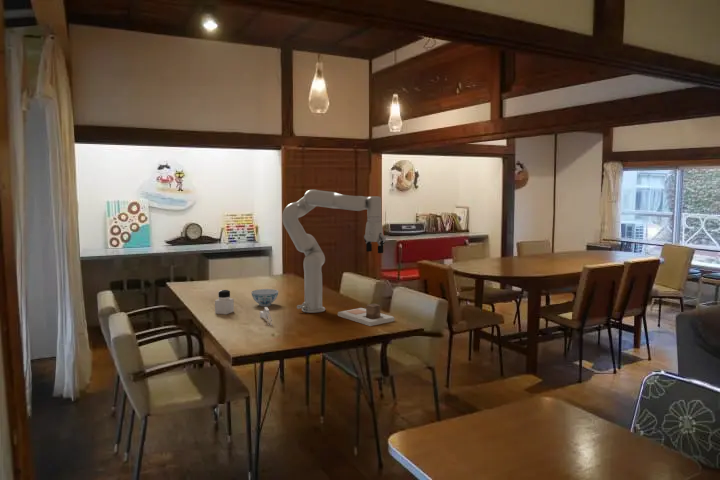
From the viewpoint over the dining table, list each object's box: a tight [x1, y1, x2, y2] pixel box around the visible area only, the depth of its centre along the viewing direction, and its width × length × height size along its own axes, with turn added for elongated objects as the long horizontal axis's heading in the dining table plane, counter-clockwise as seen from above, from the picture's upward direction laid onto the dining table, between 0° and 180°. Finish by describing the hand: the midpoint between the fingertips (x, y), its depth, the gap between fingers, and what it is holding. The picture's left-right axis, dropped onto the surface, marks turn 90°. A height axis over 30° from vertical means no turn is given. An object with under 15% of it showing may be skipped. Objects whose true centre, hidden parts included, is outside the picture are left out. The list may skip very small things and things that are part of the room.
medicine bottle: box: [214, 289, 235, 315], centre depth 283 cm, size 7×7×12 cm
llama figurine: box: [259, 306, 273, 326], centre depth 266 cm, size 2×11×18 cm
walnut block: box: [365, 303, 381, 320], centre depth 268 cm, size 5×5×8 cm
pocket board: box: [337, 307, 395, 327], centre depth 273 cm, size 16×26×2 cm, turn 39°
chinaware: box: [251, 288, 279, 307], centre depth 302 cm, size 15×15×8 cm
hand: (374, 252), depth 282 cm, fingers open, 9 cm apart
